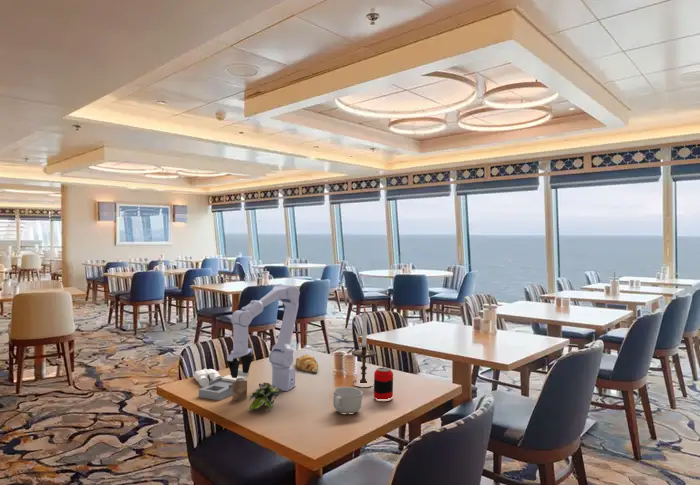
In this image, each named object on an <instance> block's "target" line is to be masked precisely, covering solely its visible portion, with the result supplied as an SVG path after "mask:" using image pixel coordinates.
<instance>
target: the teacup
mask: <svg viewBox="0 0 700 485" xmlns="http://www.w3.org/2000/svg"><path fill="white" fill-rule="evenodd" d="M363 395H364V394H363V391H362V390H361V389H359V388H358V387H351V386H339V387H336V388H333V402H332V403H333V407H334V409H335V410H336V411H337V412H338V413H339V412H340V413H339V414H341V413H346V414H349V413H355V412H356V413H357V412H358V411H360V409H361V406H362V404H363V403H362V401H363ZM356 413H355V414H356Z"/></svg>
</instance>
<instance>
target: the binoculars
mask: <svg viewBox="0 0 700 485" xmlns="http://www.w3.org/2000/svg"><path fill="white" fill-rule="evenodd" d="M193 374H194V380H196V382H197V383H199V385H200V386H201V388H203V387H206V386H208V385H209V382H210V381H212V380H215V379H217V378H220V377H222V376H223V375H220V373H219V372H218V371H217V370H216V369H212V368H209V369H207V368H203V369H201V370H195V371H194V373H193Z"/></svg>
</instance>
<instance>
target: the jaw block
mask: <svg viewBox="0 0 700 485" xmlns="http://www.w3.org/2000/svg"><path fill="white" fill-rule="evenodd" d="M247 398H248V380H247V379H245V380H244V378H237V379H236V381H234V382H233V394H232V401H237V402H242V401H244V400H247Z"/></svg>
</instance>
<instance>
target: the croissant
mask: <svg viewBox="0 0 700 485" xmlns="http://www.w3.org/2000/svg"><path fill="white" fill-rule="evenodd" d="M295 365H296V368H297V369H299V370H300V371H305V372H311V373H317V372H318V371H319V363H318V362H317V360H316V359H315V357H313V356H312V355H309V354H303V355H301V356H300V357H297V358H296V360H295Z"/></svg>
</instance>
